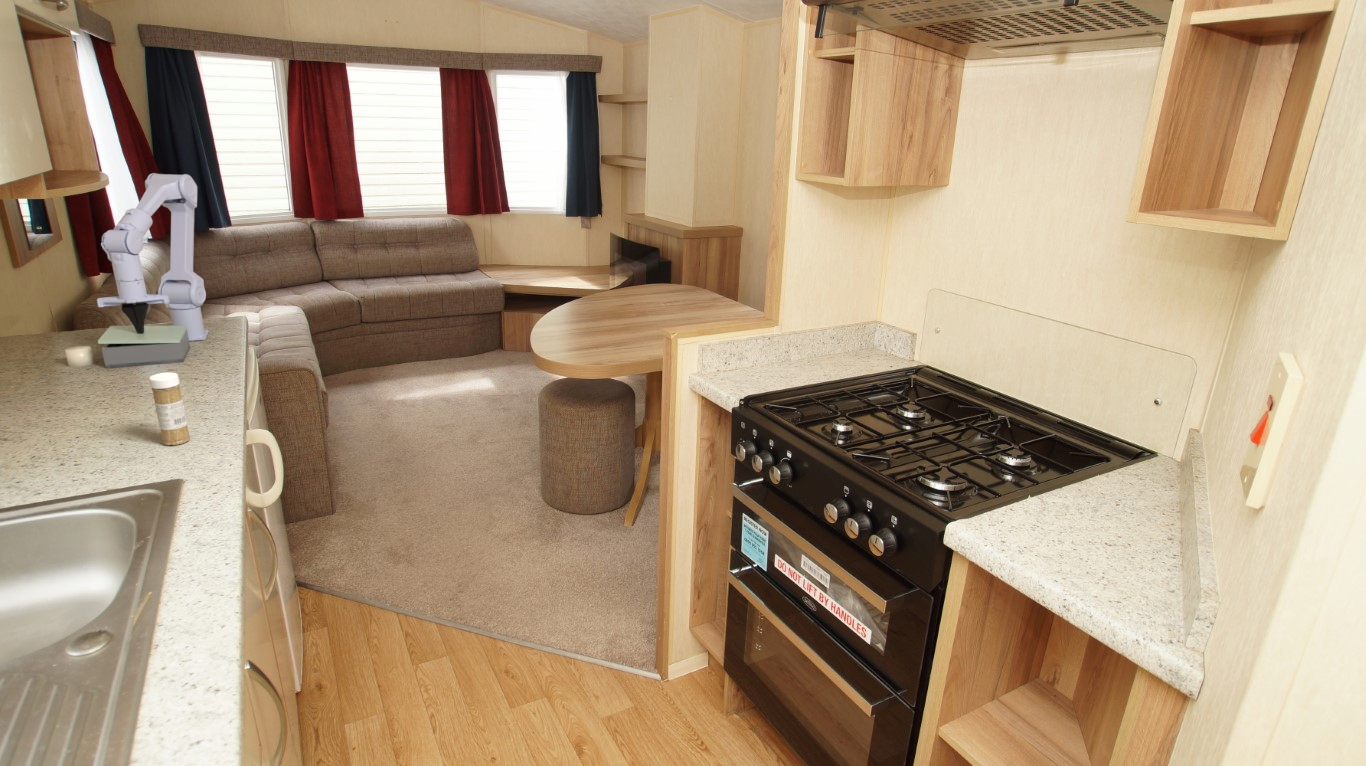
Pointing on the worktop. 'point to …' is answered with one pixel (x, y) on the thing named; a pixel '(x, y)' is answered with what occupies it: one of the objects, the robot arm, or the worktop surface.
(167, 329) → the lid
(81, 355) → the cream rounded cup
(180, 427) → the sprinkles bottle
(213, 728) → the worktop surface
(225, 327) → the worktop surface
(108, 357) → the box
